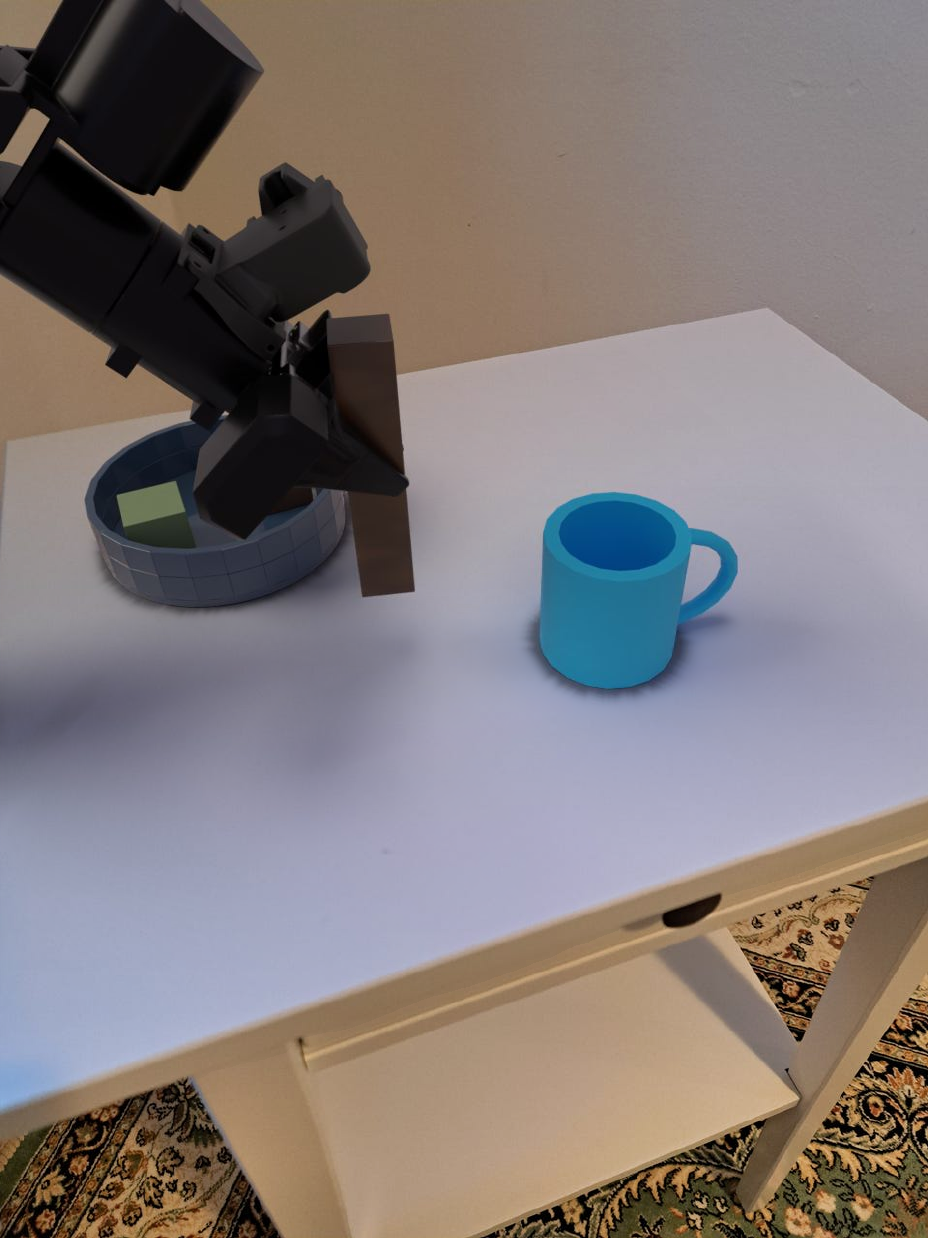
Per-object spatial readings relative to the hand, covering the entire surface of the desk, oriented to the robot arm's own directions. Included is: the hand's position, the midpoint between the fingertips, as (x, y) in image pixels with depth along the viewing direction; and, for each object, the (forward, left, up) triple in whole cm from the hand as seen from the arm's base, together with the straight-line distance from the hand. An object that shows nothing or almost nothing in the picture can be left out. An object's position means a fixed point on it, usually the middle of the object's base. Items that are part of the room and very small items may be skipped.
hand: (401, 471), depth 46 cm
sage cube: (-13, +16, -12) cm, 24 cm away
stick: (-1, 0, -7) cm, 7 cm away
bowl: (-8, +17, -13) cm, 23 cm away
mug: (+13, -5, -13) cm, 19 cm away
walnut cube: (-4, +19, -12) cm, 22 cm away
